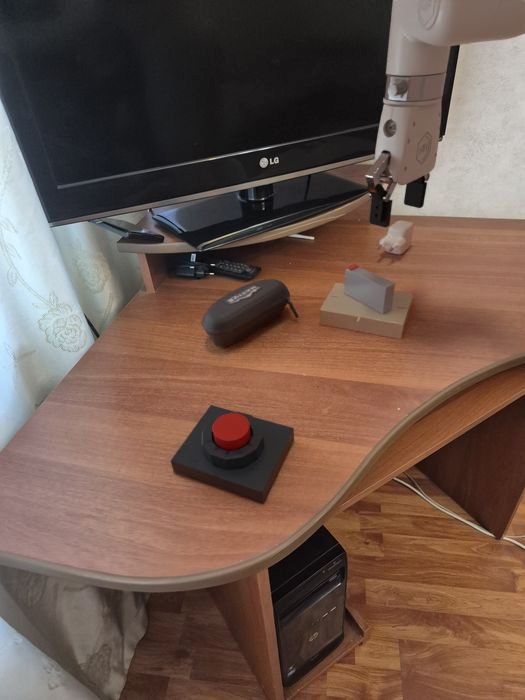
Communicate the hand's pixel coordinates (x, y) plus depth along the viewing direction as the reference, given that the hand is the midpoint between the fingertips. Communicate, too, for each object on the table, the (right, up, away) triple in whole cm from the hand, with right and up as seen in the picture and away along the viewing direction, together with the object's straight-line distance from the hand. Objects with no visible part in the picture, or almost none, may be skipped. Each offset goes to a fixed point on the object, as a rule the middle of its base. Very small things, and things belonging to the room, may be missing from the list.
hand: (396, 215), depth 68 cm
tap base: (-3, -15, +9) cm, 18 cm away
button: (-25, -32, -16) cm, 43 cm away
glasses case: (-23, -17, +9) cm, 30 cm away
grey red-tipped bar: (-3, -13, +7) cm, 15 cm away
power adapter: (+8, 0, +28) cm, 29 cm away
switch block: (-24, -34, -13) cm, 44 cm away
